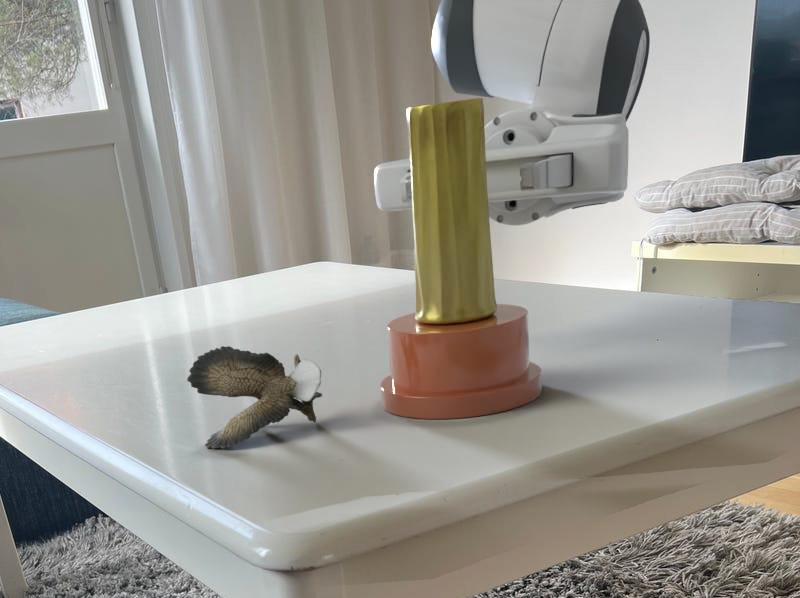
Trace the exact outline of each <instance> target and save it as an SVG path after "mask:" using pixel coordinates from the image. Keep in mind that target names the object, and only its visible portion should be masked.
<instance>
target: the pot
mask: <svg viewBox="0 0 800 598" xmlns="http://www.w3.org/2000/svg"><path fill="white" fill-rule="evenodd" d="M496 305H497V309H496V312H495V313H494V314H493V315H491V316H489V317H486V318H483V319H479V320H474V321H469V322H462V323H452V324H425V323H421V322H418V321H417V320H416V318H415V315H416V312H413V313H409V314H405V315H402V316H399V317H397V318H394V319H392V320H391V321H389V322H387V325H386V334H387V343H388V345H387V346H388V355H389V356H388V357H389V368H390V374H389V375H388V376H386V377H385V378H384V379H382V381H380V384H379V385H380V396H381V398H380V399H381V406H382V408H383V409H384V410H385V411H386V412H388V413H390V414H393V415H395V416H399V417H405V418H409V419H410V418H411V419H422V420H423V419H424V420H448V419H449V420H452V419H463V418H474V417H481V416H486V415H488V416H489V415H492V414H497V413H501V412H507V411H510V410H513V409H517V408H519V407H523V406H524V405H527V404H529V403H531V402H533V401H535V400H536V399H538V398H539V397H540V396H541V394H542V391H543V385H542V384H543V383H542V381H543V379H542V368H541V367H540V366H539V365H538V364H537V363H534V362H532V361H530V334H529V333H530V332H529V330H530V329H529V311H528V309H527V308H525V307H523V306H519V305H516V304H515V305H514V304H505V303H504V304H503V303H496Z"/></svg>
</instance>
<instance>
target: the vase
mask: <svg viewBox="0 0 800 598" xmlns="http://www.w3.org/2000/svg"><path fill="white" fill-rule="evenodd" d="M484 107H485V106H484V99H483V97H477V98H468V99H461V100H453V101H452V100H451V101H446V102H438V103H432V104H424V105H418V106H417V105H416V106H411V107H407V108H406V122H407V135H408V146H409V147H408V148H409V158H410V169H411V190H412V209H411V210H412V224H413V225H412V226H413V240H414V241H413V242H414V279H415V281H414V282H415V313H416V315H415V318H416V320H417V321H418V322H421V323H425V324H452V323H462V322H469V321H474V320H479V319H483V318H486V317H489V316H491V315H493V314H494V313H495V312H496V309H497V305H496V304H497V300H496V292H495V291H496V289H495V278H494V277H495V275H494V264H493V252H492V251H493V250H492V238H491V225H490V217H489V208H488V192H487V175H486V153H485V129H484V127H485V108H484Z"/></svg>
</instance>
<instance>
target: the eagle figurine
mask: <svg viewBox="0 0 800 598" xmlns="http://www.w3.org/2000/svg"><path fill="white" fill-rule="evenodd" d="M293 358H294V359H293V366H294V369H293V370H292V371H291V373H290V374H289V375H286V372H285V367H284V365H283V362H280V361H279V359H277V358H276V357H275V356H274V355H272V354H270V353H269V352H263V353H262V352H260V353H257V352H252V351H250V350H240V348H233V347H232V346H230V345H227V346H220V348H219V347H216V348H214V349H210V350H209V351H208V352H207V351H206V352H204V353H203V354H201V355H199V356H197V360H194V361H193V362H192V367H190V368H189V371H188V372H189V375H188V377H187V379H186V381H187V382H188V383H190V386H191V388H193V389H194V388H195V389H197V390H196V392H197V393H198V394H201V395H206V396H220V397H228V398H238V397H248V398H249V397H251V398H255V399H257V401H256V402H254V403H252V404H251V405H250V406H248V407H246V408H244V409H243V410H241V411H239V412H238V413H236V414H234V415H233V416H231V418H230V419H229V420H228V421H227V422H226V424H225V425H224V426H223V428H222V429H220V430H218V431H216V432H214V433H212V434H211V435H210V438H208V439H207V440H206V441H207V442H206V443H204V446H205V447H206V449H211V448H212V449H218V448H221V449H225V448H231V447H234V446H236V445H238V444H241V443H243V442H244V441H245V440H248V439H250V437H251V436H252V435H254V434H255V433H258V432H259V431H260V430H261V429H263V428H265V427H266V426H269V425H270V424H275V423H280V422H281V421H283V420H284V418H285V417H288V416H289V413H290V412H291V410H296V411H298V412H300V413H302V414H303V416H305V417H307V420H308V421H310V422H313V423H316V422H317V416H316V414H315V410H314V400H316V399H319V398H322V397H323V393H322V392H318V389H319V388H320V387H321V385H322V370H321V367H320V366H319V365H318V364H317V363H316V362H315V361H312V360H311V359H308V358H304V359H302V360H301V358H300V356H299V354H295V355H294V357H293Z"/></svg>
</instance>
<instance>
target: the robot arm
mask: <svg viewBox="0 0 800 598" xmlns="http://www.w3.org/2000/svg"><path fill="white" fill-rule="evenodd" d="M431 34H432V35H431V53H432V55H433V58H434V62H435V64H436V65H437V67H438V70H439V71H440V73H441V75H442V76H443V78H444V80H445V81H446V82H447V84H448V85H449V86H450V88H451V89H452V90H453V92H455V93H456V94H460V95H466V96H467V95H468V96H476V97H482V98H490V99H491V98H495V97H496V98H499V99H500V98H501V99H502V100H503V99H504V100H508V101H513V102H517V103H521V104H525V105H529V106H528V107H526V108H520V109H513V110H509V111H506V112H502V113H501V114H499V115H497V116H495V117H493V118H492V119H491V120H490V121H488V123H486V124H485V125H484V129H485V153H486V175H487V192H488V208H489V219H491V220H492V221H494V222H497V223H499V224H502V225H506V226H523V225H528V224H531V223H534V222H537V221H538V220H540V219H542V218H551V217H552V216H555V215H557V214H559V213H561V212H565V211H567V210H570V209H572V210H575V209H580V208H583V207H590V206H597V205H598V206H599V205H605V204H608V203H613V202H614V203H615V202H618V201H620V200H622V199H623V198H624V194H625V192H626V191H627V189H628V174H629V127H628V126H627V122H628V120H629V118H630V116H631V114H632V112H633V109H634V107H635V104H636V101H637V99H638V96H639V93H640V91H641V89H642V85H643V81H644V78H645V73H646V69H647V65H648V61H649V54H650V42H651V37H650V29H649V25H648V22H647V18H646V16H645V12H644V9H643V6H642V3H641V2H640V0H440V3H439V5H438V9H437V12H436V15H435V18H434V23H433V27H432V33H431ZM373 171H374V172H373V177H374V178H373V180H374V181H373V185H374V194H375V195H374V197H375V201H376V206H377V208H378V209H379V210H380V211H383V212H399V211H408V210H410V211H411V210H412V190H411V169H410V157H409V158H404V159H398V160H392V161H387V162H383V163H380V164H378V165H377V166H375V168H374V170H373Z"/></svg>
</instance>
